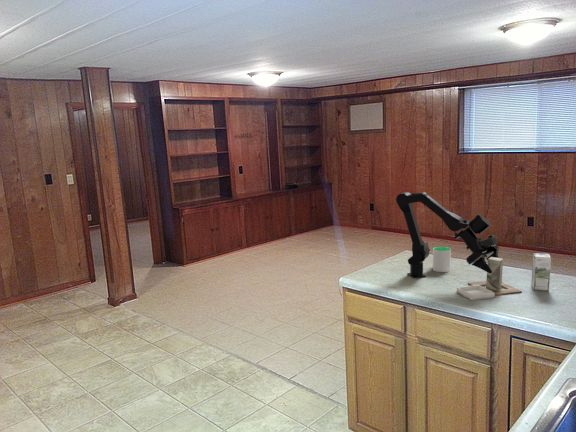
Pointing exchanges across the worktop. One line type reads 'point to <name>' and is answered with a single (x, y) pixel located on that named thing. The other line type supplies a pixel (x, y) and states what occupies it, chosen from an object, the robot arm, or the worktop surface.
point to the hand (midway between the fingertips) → (496, 270)
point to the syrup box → (541, 271)
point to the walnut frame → (507, 290)
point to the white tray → (475, 292)
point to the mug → (441, 259)
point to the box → (494, 273)
